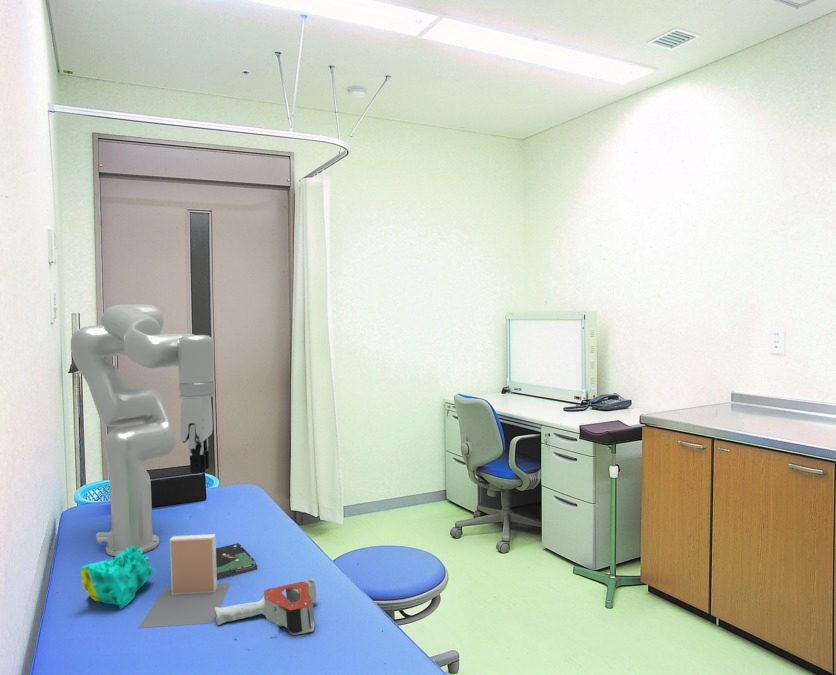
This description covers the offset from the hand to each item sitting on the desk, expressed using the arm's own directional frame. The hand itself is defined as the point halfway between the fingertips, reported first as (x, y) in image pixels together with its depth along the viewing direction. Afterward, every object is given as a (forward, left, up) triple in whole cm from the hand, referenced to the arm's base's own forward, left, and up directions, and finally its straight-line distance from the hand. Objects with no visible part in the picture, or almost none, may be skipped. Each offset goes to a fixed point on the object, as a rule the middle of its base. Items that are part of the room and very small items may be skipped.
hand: (199, 469), depth 136 cm
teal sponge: (-15, -8, -25) cm, 31 cm away
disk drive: (+4, +6, -26) cm, 27 cm away
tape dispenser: (+19, -20, -25) cm, 37 cm away
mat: (0, -13, -25) cm, 28 cm away
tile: (0, -8, -25) cm, 26 cm away
